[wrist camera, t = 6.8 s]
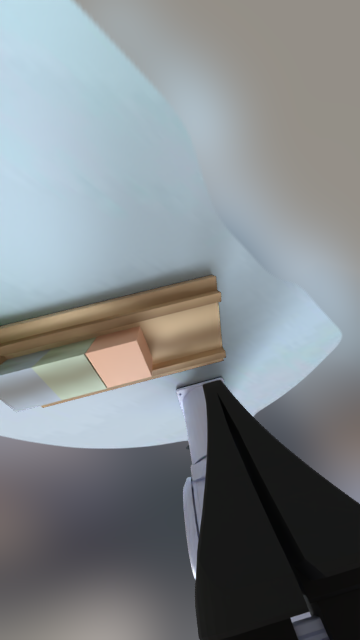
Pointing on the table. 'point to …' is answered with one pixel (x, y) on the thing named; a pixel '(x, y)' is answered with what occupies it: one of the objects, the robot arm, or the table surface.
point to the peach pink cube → (121, 357)
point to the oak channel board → (100, 319)
